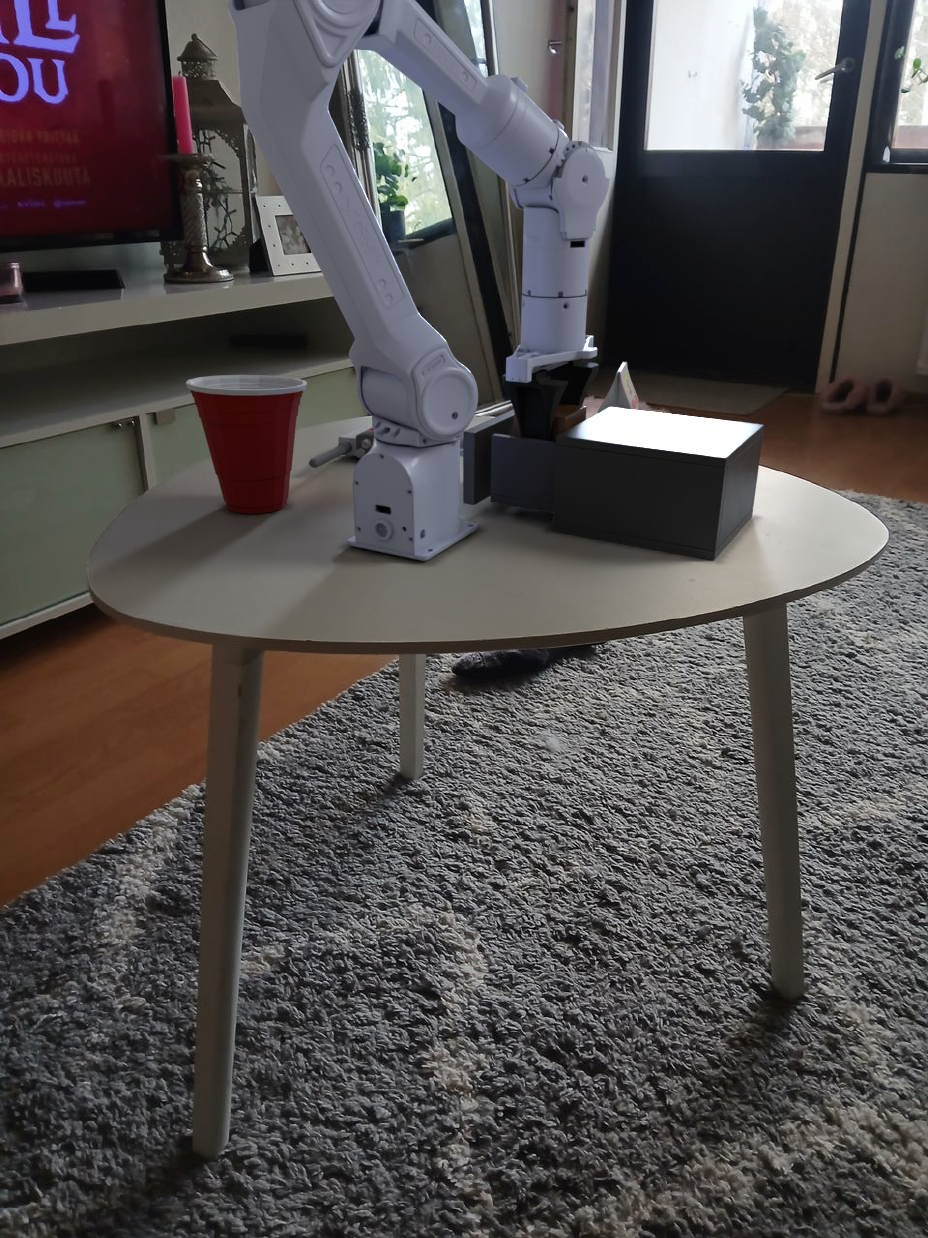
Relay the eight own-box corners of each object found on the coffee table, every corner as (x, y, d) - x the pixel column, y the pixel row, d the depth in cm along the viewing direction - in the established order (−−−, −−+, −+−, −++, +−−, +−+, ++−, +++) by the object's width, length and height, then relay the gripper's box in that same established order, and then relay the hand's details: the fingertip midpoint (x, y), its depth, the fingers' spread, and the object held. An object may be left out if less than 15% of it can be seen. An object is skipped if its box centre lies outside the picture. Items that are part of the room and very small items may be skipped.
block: (562, 472, 87) (565, 417, 85) (513, 464, 90) (514, 411, 88) (583, 459, 91) (586, 406, 89) (535, 452, 94) (537, 400, 91)
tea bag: (594, 465, 105) (600, 371, 101) (602, 449, 111) (607, 360, 107) (628, 467, 104) (635, 373, 100) (634, 451, 110) (641, 362, 106)
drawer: (424, 496, 92) (423, 425, 89) (480, 467, 101) (481, 402, 98) (598, 527, 84) (603, 450, 81) (642, 492, 93) (648, 422, 90)
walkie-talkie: (386, 432, 118) (303, 476, 101) (385, 396, 116) (300, 434, 99) (452, 439, 115) (378, 485, 98) (452, 401, 113) (377, 442, 96)
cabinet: (551, 531, 86) (555, 435, 82) (604, 493, 96) (609, 406, 92) (714, 560, 79) (726, 458, 76) (752, 516, 89) (764, 424, 86)
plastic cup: (336, 495, 95) (329, 371, 90) (273, 529, 86) (262, 393, 81) (245, 482, 99) (233, 363, 94) (176, 513, 90) (159, 383, 85)
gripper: (563, 306, 77) (556, 472, 82) (627, 288, 88) (617, 435, 94) (484, 301, 80) (483, 461, 85) (556, 284, 91) (550, 426, 97)
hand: (548, 447), depth 90 cm, fingers closed on block, 5 cm apart
